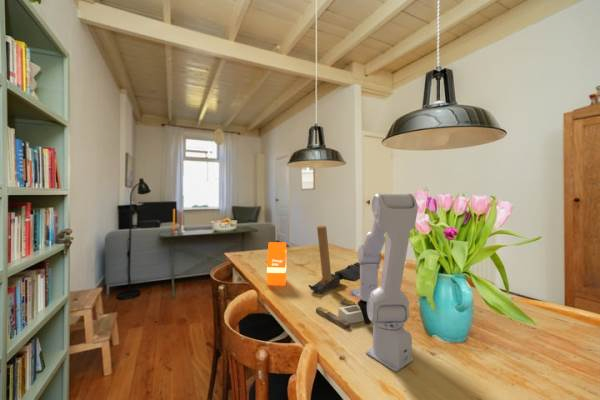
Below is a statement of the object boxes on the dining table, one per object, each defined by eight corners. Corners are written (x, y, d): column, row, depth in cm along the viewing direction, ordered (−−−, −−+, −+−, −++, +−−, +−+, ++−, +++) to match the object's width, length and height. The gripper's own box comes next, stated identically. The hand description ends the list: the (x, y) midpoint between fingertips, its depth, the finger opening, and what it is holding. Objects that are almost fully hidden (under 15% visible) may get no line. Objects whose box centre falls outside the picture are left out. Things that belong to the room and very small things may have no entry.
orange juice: (285, 285, 124) (285, 243, 123) (266, 285, 124) (267, 243, 123) (286, 280, 131) (286, 240, 131) (269, 279, 132) (269, 240, 131)
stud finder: (366, 320, 90) (366, 310, 90) (346, 324, 87) (346, 314, 87) (357, 313, 95) (357, 304, 95) (338, 317, 92) (338, 307, 92)
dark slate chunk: (329, 276, 140) (329, 267, 140) (351, 268, 156) (351, 260, 156) (354, 283, 130) (354, 273, 130) (374, 273, 146) (374, 265, 146)
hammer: (318, 300, 112) (310, 233, 107) (309, 297, 115) (301, 232, 111) (343, 281, 126) (338, 221, 122) (335, 278, 130) (329, 220, 125)
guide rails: (375, 316, 93) (375, 311, 93) (345, 329, 84) (345, 323, 84) (344, 302, 105) (344, 298, 105) (315, 312, 96) (315, 307, 96)
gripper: (395, 286, 82) (394, 328, 82) (359, 274, 94) (359, 311, 94) (381, 291, 78) (380, 335, 78) (346, 278, 90) (345, 317, 90)
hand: (368, 323), depth 86 cm, fingers closed
